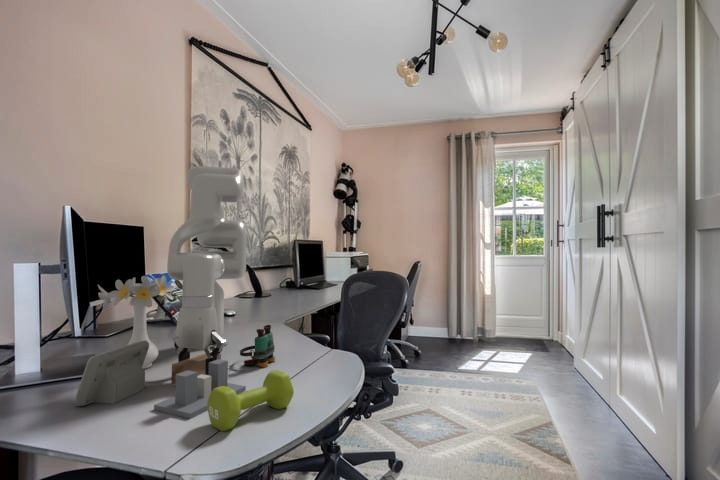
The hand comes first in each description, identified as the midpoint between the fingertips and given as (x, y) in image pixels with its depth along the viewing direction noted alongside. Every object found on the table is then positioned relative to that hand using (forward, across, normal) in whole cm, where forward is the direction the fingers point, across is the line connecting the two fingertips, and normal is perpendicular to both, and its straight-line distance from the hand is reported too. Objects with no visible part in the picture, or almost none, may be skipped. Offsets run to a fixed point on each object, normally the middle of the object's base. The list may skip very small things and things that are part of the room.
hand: (197, 370), depth 97 cm
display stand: (+2, +12, -10) cm, 16 cm away
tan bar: (+2, 0, 0) cm, 2 cm away
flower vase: (+2, -21, -1) cm, 21 cm away
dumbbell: (+2, +27, -12) cm, 29 cm away
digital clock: (+2, -8, -16) cm, 18 cm away
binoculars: (+2, +6, +16) cm, 17 cm away
